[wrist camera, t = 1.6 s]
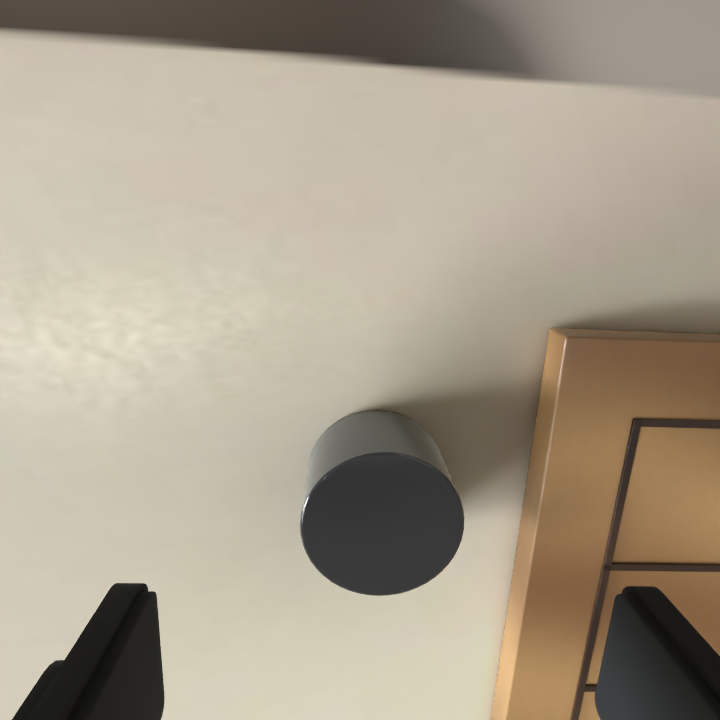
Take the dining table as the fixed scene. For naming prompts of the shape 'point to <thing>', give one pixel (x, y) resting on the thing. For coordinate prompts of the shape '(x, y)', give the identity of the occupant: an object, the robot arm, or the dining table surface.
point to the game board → (611, 508)
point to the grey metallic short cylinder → (379, 505)
